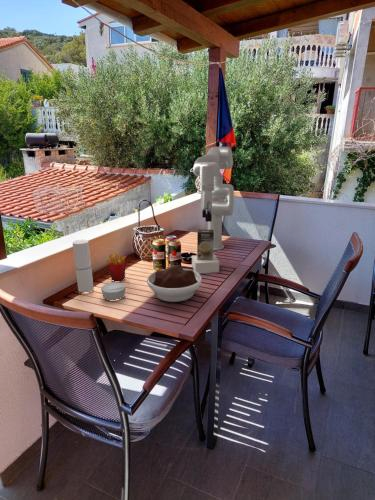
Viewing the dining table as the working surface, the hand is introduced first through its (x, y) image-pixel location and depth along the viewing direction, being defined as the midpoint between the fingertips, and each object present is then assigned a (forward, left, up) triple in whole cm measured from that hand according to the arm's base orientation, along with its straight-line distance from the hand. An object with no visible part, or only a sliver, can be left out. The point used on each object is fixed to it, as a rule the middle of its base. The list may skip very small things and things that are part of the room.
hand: (206, 219), depth 184 cm
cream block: (+1, -1, -28) cm, 28 cm away
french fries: (+11, -49, -28) cm, 57 cm away
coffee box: (+1, -1, -22) cm, 22 cm away
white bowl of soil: (+34, -22, -28) cm, 49 cm away
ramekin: (+30, -50, -29) cm, 65 cm away
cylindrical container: (+21, -64, -28) cm, 73 cm away
